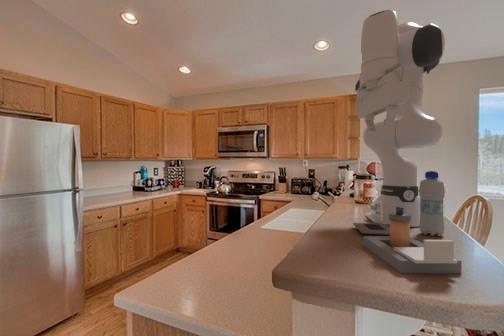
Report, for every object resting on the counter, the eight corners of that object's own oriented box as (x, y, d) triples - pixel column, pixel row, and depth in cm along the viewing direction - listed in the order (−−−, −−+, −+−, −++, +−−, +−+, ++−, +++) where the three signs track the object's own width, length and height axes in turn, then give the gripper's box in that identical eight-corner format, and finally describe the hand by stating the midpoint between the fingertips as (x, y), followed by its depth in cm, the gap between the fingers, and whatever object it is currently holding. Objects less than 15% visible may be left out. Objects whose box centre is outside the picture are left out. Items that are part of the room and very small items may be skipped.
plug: (384, 250, 64) (384, 205, 64) (403, 250, 64) (403, 205, 64) (395, 257, 59) (395, 208, 59) (415, 257, 59) (415, 208, 59)
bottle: (446, 238, 74) (446, 171, 74) (419, 235, 78) (419, 171, 78) (443, 233, 80) (443, 170, 80) (418, 230, 84) (418, 170, 84)
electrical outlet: (400, 241, 74) (400, 232, 74) (362, 239, 76) (362, 231, 76) (384, 229, 87) (384, 223, 87) (352, 228, 89) (352, 221, 89)
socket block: (363, 245, 69) (363, 236, 69) (407, 245, 68) (407, 236, 68) (400, 273, 51) (400, 260, 51) (461, 273, 50) (461, 261, 50)
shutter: (393, 249, 57) (393, 229, 57) (429, 249, 57) (429, 229, 57) (419, 265, 48) (419, 241, 48) (461, 265, 48) (461, 241, 48)
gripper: (417, 58, 55) (417, 122, 55) (373, 88, 75) (373, 134, 75) (388, 59, 55) (388, 122, 55) (352, 88, 75) (352, 134, 75)
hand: (379, 129), depth 65 cm, fingers open, 8 cm apart
